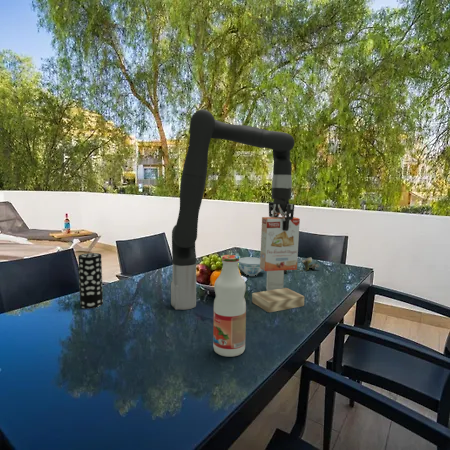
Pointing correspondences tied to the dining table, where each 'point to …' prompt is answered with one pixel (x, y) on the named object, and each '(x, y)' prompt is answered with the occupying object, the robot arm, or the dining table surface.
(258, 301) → the birch plinth
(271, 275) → the supplement box
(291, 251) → the cracker box
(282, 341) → the dining table surface
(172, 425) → the dining table surface
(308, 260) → the artificial flower
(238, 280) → the fruit juice
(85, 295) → the white-spotted black cylinder
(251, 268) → the chinaware
